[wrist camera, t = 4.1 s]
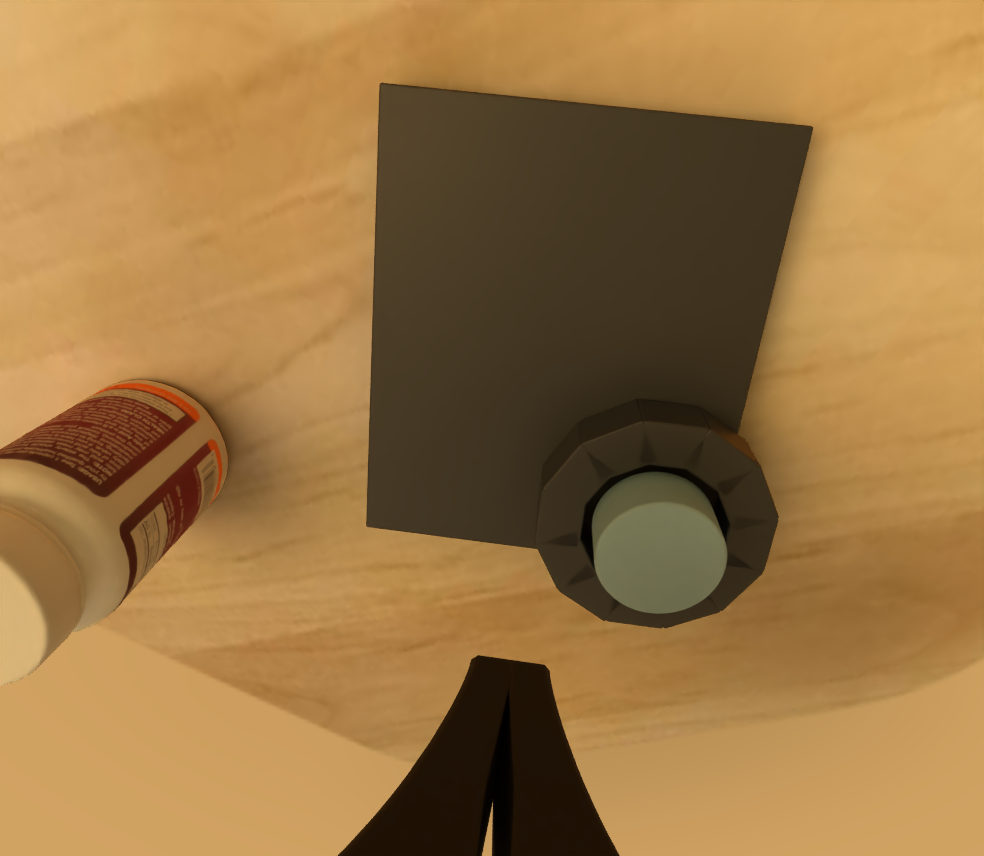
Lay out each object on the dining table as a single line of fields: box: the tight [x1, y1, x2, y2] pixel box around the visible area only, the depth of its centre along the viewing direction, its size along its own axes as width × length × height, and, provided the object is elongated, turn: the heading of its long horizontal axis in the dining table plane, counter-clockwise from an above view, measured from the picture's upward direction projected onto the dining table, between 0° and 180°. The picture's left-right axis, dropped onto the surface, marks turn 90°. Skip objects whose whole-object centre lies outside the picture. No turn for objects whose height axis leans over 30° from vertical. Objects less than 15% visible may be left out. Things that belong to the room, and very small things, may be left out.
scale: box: [366, 83, 813, 628], centre depth 19 cm, size 13×11×3 cm
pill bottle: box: [0, 380, 228, 685], centre depth 19 cm, size 5×5×8 cm
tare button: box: [592, 472, 727, 614], centre depth 19 cm, size 3×3×2 cm
